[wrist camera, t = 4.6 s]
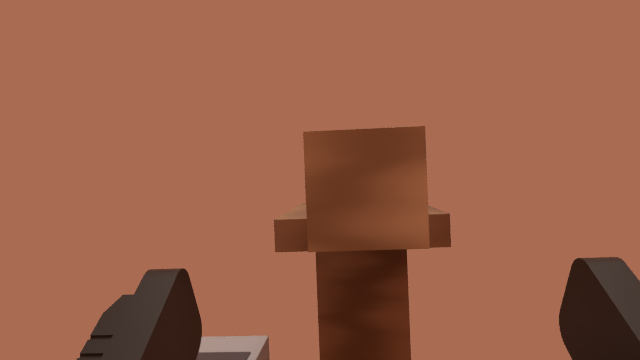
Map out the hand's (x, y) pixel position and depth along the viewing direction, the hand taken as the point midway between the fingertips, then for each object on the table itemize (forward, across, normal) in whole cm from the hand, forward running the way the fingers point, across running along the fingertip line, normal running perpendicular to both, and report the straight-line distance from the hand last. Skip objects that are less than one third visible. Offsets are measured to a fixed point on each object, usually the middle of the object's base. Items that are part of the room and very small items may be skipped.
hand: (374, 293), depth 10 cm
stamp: (+13, 0, +7) cm, 15 cm away
